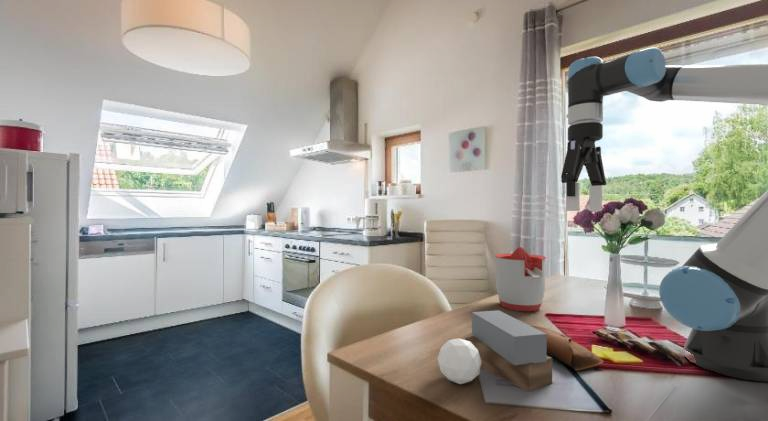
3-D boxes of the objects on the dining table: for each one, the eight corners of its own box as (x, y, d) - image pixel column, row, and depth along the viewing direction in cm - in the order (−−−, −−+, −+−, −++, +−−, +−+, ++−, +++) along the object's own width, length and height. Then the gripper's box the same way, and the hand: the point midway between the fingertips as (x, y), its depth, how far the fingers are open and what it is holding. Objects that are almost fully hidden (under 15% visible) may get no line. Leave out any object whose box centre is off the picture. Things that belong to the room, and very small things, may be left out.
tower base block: (552, 384, 67) (552, 357, 67) (528, 393, 64) (529, 365, 64) (487, 355, 81) (487, 332, 81) (465, 361, 78) (465, 337, 78)
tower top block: (546, 361, 65) (546, 333, 65) (514, 365, 64) (514, 336, 64) (498, 332, 81) (498, 310, 81) (471, 335, 79) (471, 312, 79)
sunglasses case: (608, 360, 73) (591, 336, 72) (584, 385, 72) (567, 360, 71) (548, 331, 91) (533, 311, 90) (528, 350, 89) (513, 330, 88)
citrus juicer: (514, 317, 108) (514, 250, 108) (486, 303, 125) (486, 245, 125) (561, 314, 111) (561, 249, 111) (527, 300, 128) (527, 244, 128)
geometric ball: (452, 369, 73) (452, 329, 73) (489, 382, 67) (489, 339, 67) (429, 382, 67) (429, 338, 67) (467, 397, 62) (467, 350, 62)
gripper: (589, 134, 100) (588, 211, 100) (545, 119, 84) (545, 210, 84) (620, 129, 94) (619, 211, 94) (579, 112, 78) (579, 210, 78)
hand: (584, 211), depth 89 cm, fingers open, 13 cm apart
